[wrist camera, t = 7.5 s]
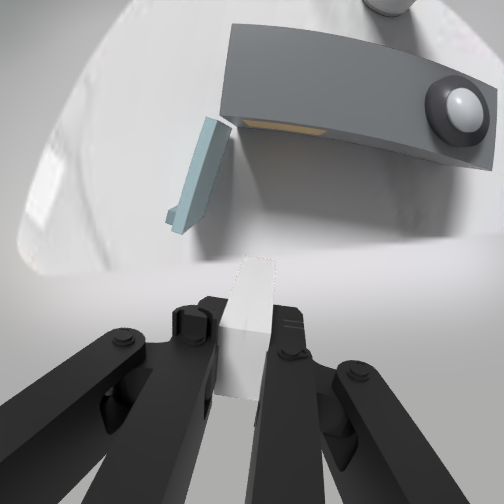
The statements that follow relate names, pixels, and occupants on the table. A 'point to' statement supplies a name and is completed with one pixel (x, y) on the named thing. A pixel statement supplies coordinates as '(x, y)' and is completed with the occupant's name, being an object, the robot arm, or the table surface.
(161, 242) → the table surface
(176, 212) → the side door
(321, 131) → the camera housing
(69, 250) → the table surface
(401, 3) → the travel mug
